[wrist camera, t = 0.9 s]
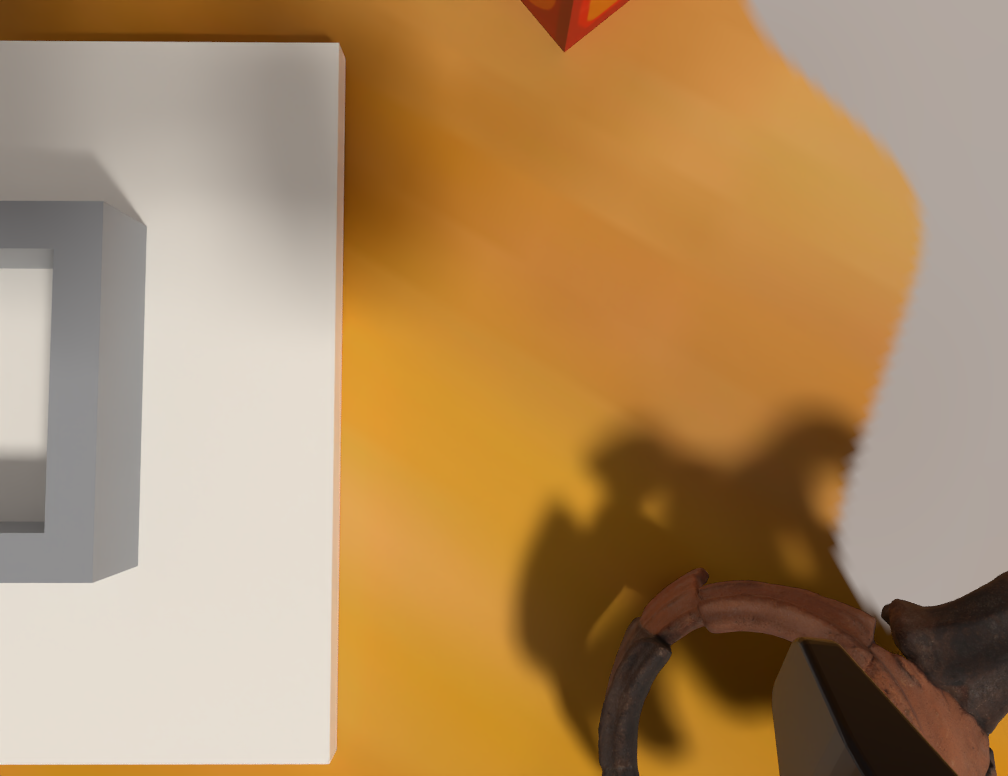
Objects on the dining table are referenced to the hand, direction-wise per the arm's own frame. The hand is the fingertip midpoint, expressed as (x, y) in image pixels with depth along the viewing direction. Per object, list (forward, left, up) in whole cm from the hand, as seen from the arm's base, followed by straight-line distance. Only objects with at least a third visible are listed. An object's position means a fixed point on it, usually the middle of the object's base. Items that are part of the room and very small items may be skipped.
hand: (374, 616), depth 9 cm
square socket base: (+3, +13, -15) cm, 20 cm away
